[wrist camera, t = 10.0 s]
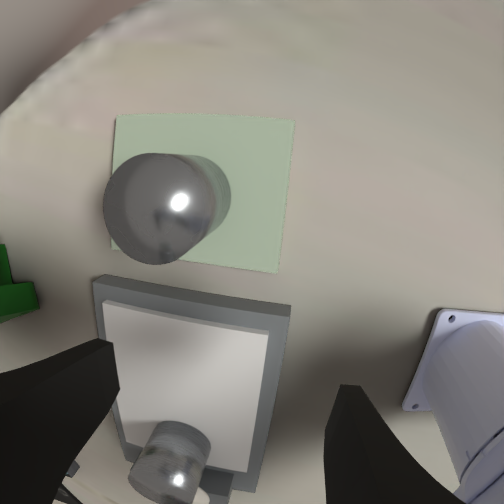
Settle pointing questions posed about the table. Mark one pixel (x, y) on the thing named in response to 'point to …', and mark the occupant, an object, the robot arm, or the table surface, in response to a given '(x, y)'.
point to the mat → (236, 170)
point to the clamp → (14, 293)
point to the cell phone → (66, 496)
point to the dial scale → (195, 372)
